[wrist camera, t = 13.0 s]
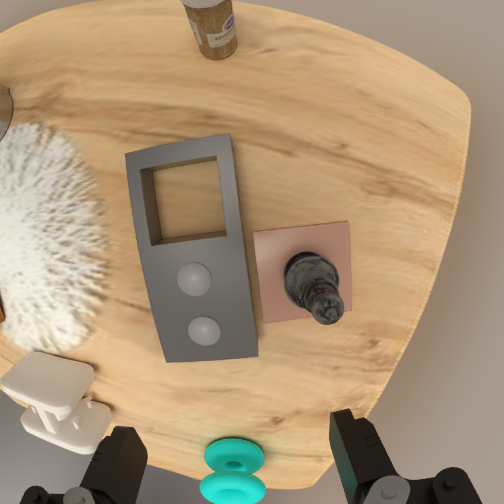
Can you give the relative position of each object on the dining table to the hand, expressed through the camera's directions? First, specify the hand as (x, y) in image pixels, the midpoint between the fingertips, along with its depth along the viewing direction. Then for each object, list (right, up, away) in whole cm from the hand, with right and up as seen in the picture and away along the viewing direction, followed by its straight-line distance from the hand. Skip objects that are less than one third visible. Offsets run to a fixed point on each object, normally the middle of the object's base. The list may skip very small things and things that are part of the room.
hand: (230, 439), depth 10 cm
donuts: (-2, -27, +31) cm, 41 cm away
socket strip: (-5, +7, +23) cm, 25 cm away
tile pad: (+7, +5, +24) cm, 26 cm away
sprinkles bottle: (-3, +32, +18) cm, 37 cm away
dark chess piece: (+7, +5, +24) cm, 25 cm away
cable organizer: (-29, -14, +28) cm, 43 cm away
